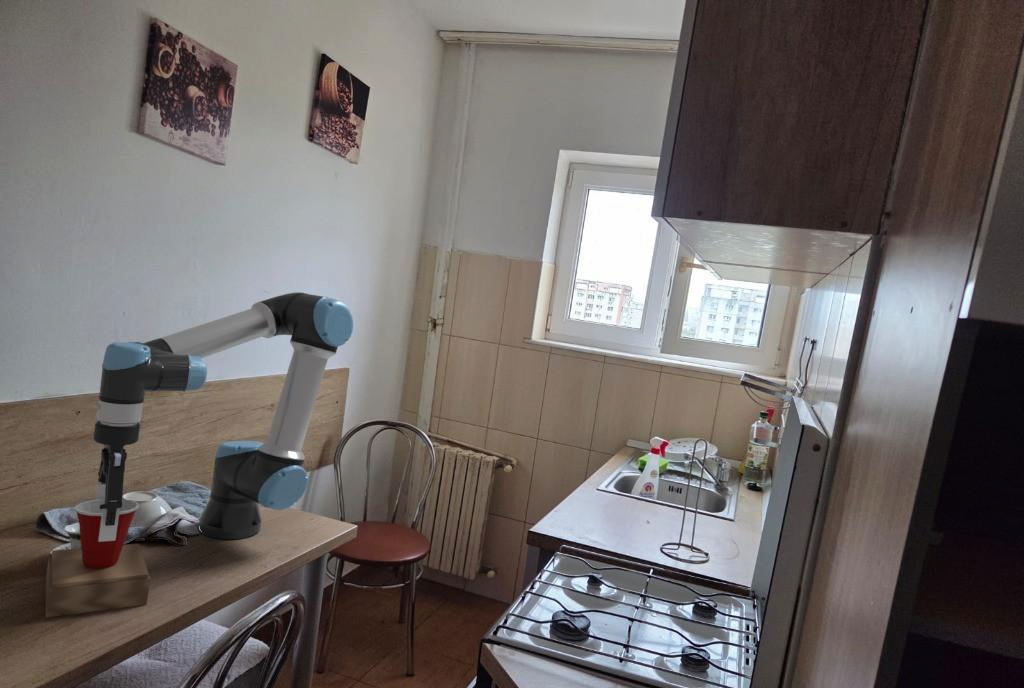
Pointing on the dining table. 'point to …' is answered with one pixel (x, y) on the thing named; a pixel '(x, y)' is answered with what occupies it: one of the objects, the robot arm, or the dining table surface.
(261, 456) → the robot arm
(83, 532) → the plastic cup
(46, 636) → the dining table surface
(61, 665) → the dining table surface
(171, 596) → the dining table surface
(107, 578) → the brown flat block
